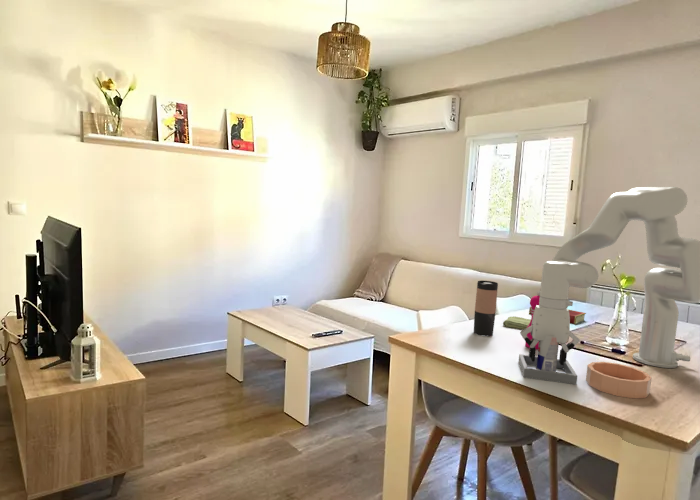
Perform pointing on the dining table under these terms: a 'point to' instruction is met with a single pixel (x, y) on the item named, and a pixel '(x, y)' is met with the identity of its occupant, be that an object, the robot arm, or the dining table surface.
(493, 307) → the travel mug
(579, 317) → the hardcover book
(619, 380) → the bowl
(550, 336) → the energy drink
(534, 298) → the pepper mill
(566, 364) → the parts tray
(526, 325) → the washcloth
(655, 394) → the dining table surface
